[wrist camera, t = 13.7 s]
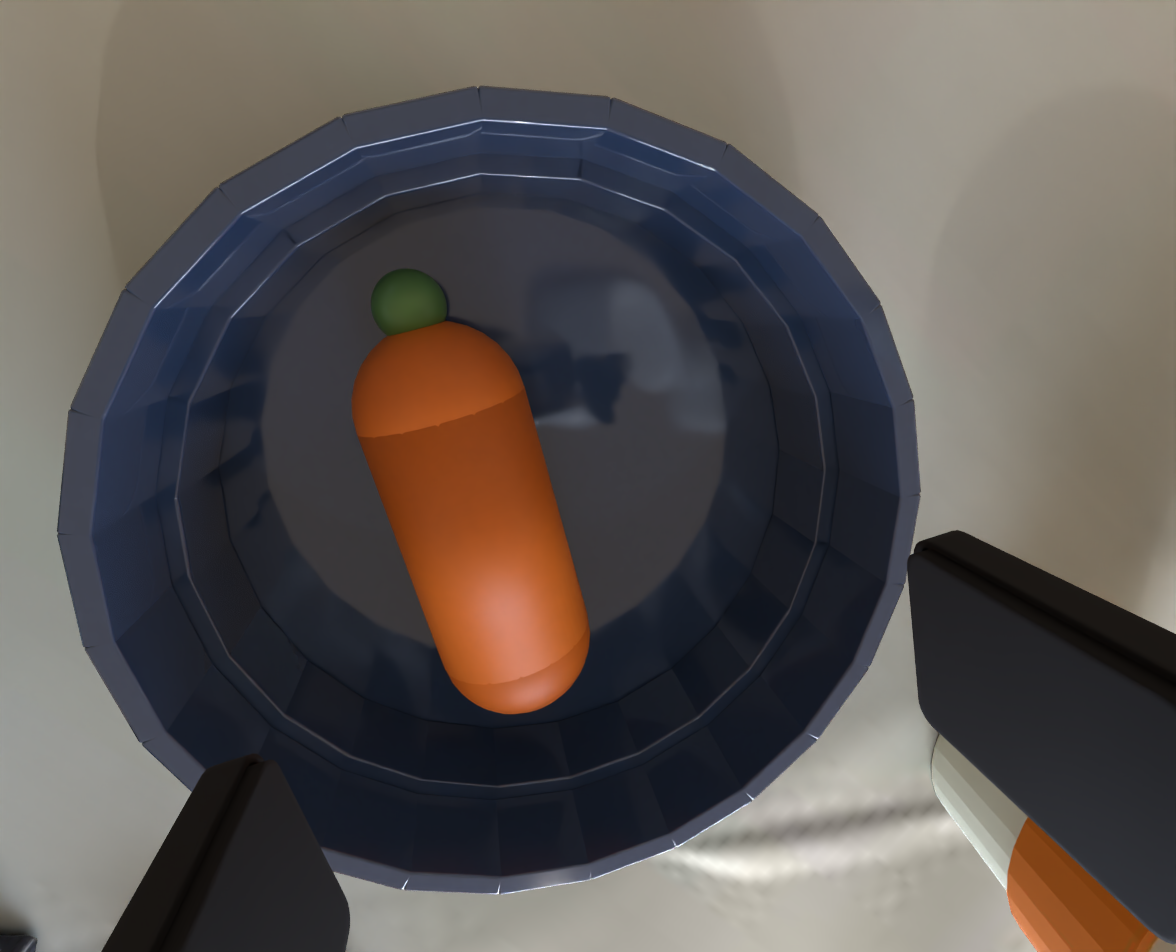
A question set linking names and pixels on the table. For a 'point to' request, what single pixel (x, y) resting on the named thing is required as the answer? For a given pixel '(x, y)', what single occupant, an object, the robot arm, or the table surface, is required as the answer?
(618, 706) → the blue round bowl
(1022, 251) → the table surface
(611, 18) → the table surface
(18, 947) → the small box
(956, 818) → the reusable coffee cup
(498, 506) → the carrot
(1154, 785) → the robot arm
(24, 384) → the table surface
